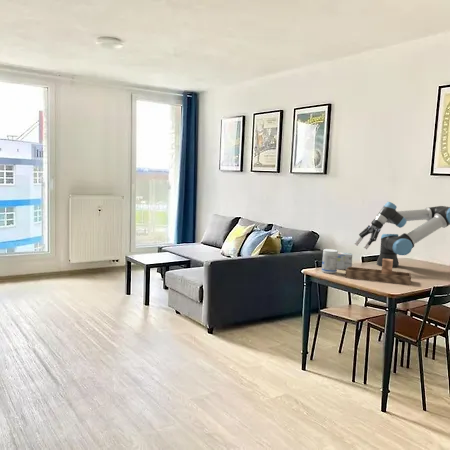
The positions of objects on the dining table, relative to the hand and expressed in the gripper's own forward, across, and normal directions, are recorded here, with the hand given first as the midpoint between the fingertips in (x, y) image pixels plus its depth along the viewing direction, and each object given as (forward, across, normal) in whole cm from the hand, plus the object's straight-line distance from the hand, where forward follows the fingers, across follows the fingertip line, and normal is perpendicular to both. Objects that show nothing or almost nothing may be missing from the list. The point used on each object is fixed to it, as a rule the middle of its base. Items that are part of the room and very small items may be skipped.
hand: (360, 246), depth 327 cm
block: (+9, +34, +8) cm, 36 cm away
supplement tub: (+28, +11, -12) cm, 33 cm away
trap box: (+14, +32, +6) cm, 35 cm away
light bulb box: (+19, 0, 0) cm, 19 cm away
